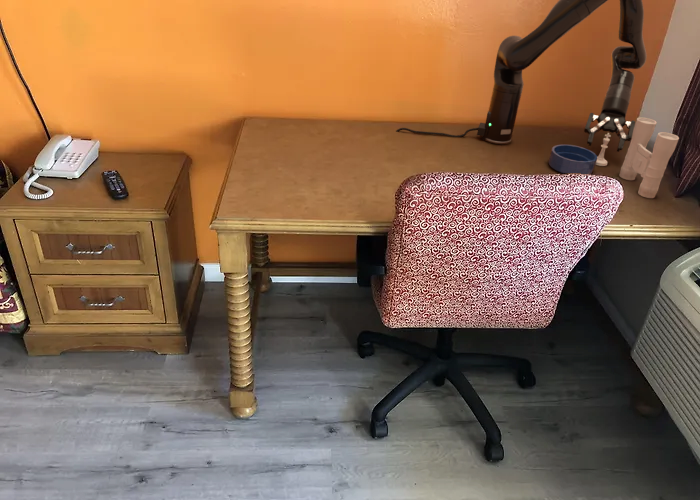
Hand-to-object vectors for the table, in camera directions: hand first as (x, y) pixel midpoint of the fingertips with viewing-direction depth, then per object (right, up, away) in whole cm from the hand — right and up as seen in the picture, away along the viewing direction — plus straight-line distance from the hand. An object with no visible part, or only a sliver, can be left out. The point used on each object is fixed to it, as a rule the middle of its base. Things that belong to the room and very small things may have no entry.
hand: (604, 147), depth 189 cm
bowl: (-11, -7, -2) cm, 13 cm away
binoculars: (+6, -13, -10) cm, 17 cm away
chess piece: (0, -4, +3) cm, 6 cm away
